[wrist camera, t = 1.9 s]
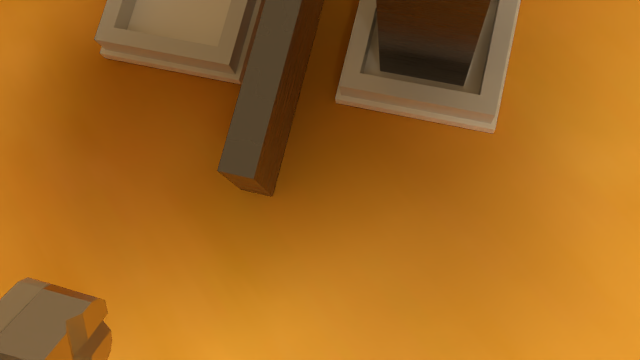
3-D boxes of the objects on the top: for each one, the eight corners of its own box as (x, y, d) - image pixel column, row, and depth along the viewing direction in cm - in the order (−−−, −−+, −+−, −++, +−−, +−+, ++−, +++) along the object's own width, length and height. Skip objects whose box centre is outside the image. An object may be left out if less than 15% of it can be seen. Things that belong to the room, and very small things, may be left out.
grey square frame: (521, -12, 29) (530, -33, 28) (493, 133, 28) (499, 121, 26) (370, -36, 31) (369, -56, 29) (336, 103, 29) (332, 89, 27)
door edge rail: (357, -128, 32) (352, -188, 28) (272, 196, 29) (253, 178, 25) (328, -131, 32) (319, -192, 28) (241, 189, 29) (217, 170, 25)
